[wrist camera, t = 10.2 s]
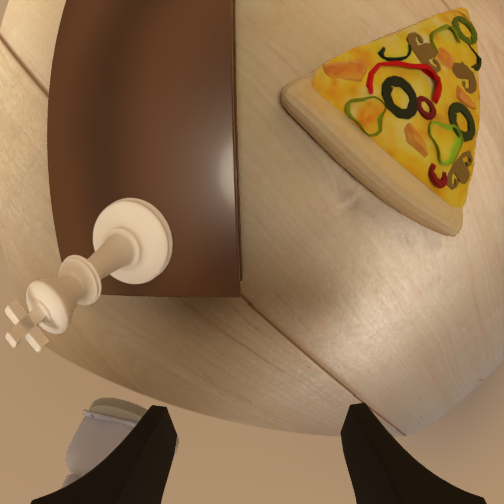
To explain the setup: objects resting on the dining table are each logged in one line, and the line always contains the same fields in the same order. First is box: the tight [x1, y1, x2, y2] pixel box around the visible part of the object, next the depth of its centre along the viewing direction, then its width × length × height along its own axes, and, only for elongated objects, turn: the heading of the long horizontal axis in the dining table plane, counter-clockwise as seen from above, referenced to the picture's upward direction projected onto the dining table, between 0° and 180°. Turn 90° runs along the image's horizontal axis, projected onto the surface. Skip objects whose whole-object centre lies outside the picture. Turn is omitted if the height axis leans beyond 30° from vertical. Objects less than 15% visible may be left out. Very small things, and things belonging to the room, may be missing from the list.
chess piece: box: [5, 198, 173, 353], centre depth 10 cm, size 5×5×10 cm
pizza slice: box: [280, 7, 481, 237], centre depth 12 cm, size 16×21×3 cm
